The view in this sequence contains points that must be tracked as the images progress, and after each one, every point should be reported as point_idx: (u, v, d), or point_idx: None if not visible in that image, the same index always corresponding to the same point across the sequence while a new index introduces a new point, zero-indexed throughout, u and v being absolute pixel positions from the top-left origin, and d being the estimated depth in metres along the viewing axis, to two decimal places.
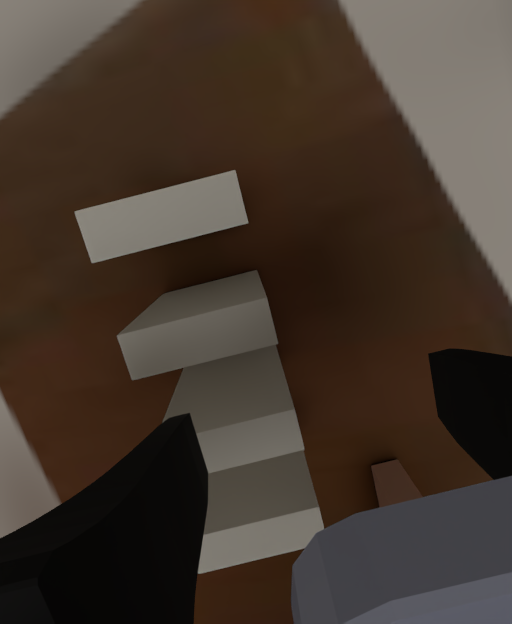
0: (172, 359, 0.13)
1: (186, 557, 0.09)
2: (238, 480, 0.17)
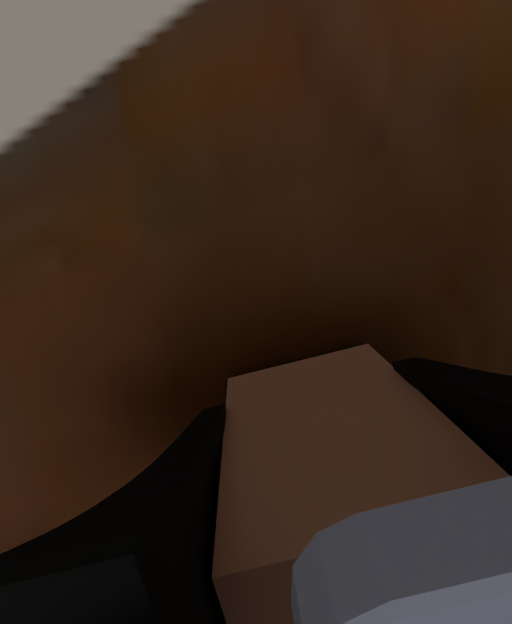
0: None
1: None
2: None
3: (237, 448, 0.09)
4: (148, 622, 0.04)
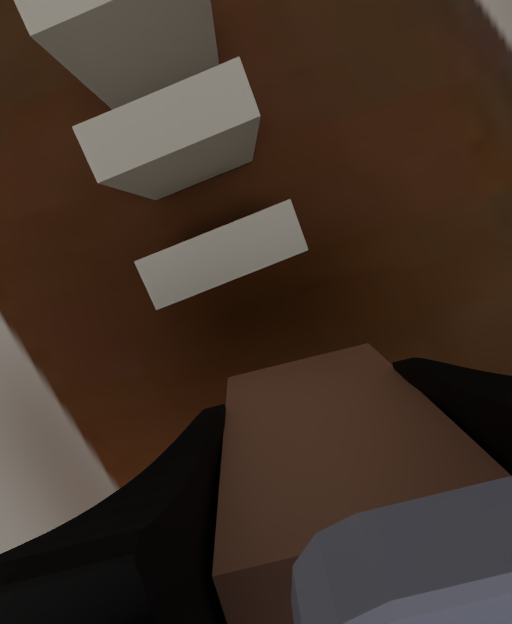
0: None
1: None
2: None
3: (237, 447, 0.09)
4: (148, 622, 0.04)
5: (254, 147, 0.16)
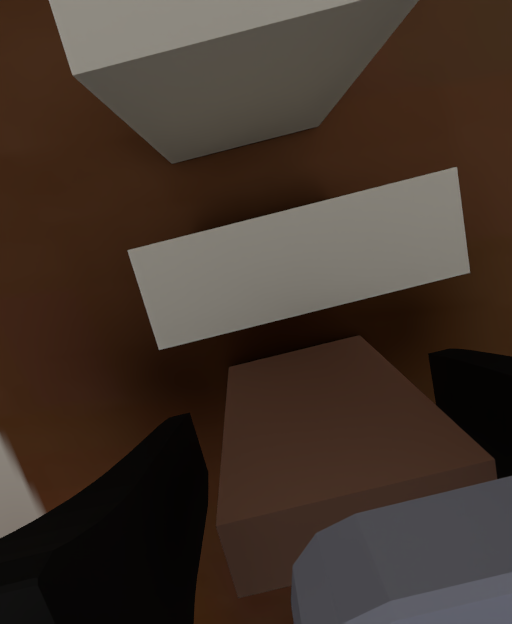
0: None
1: (186, 557, 0.09)
2: None
3: (237, 425, 0.10)
4: None
5: (344, 92, 0.10)
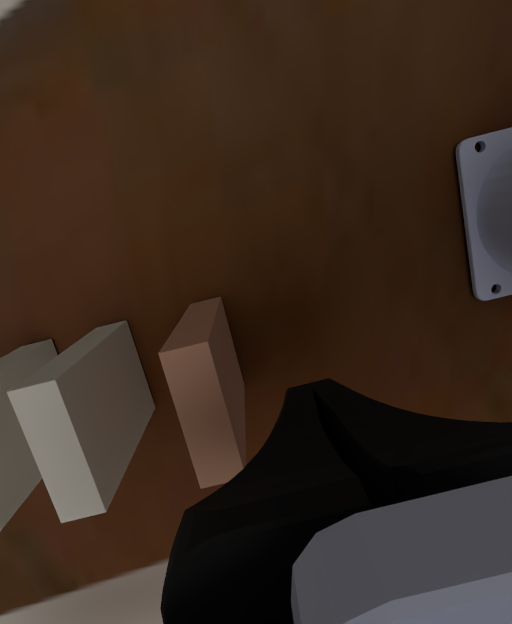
0: None
1: None
2: None
3: None
4: None
5: (14, 361, 0.17)
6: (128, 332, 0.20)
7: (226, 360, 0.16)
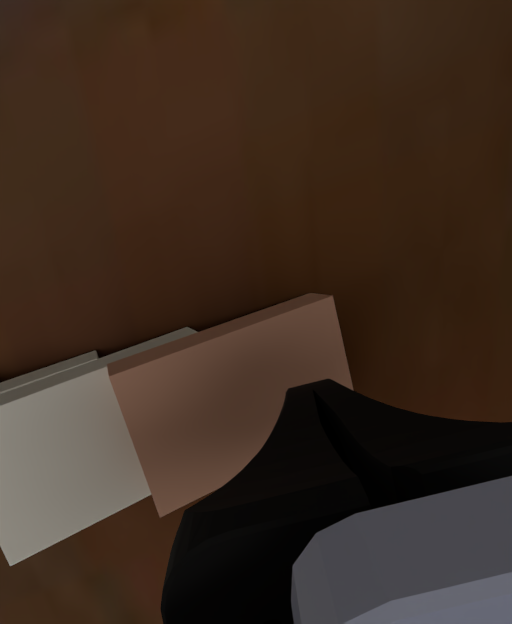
0: None
1: None
2: None
3: None
4: None
5: None
6: None
7: (228, 390, 0.13)
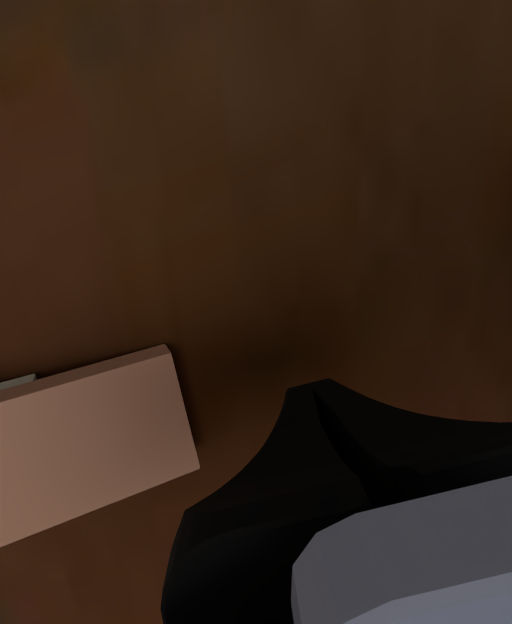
0: None
1: None
2: None
3: None
4: None
5: None
6: None
7: (52, 440, 0.14)
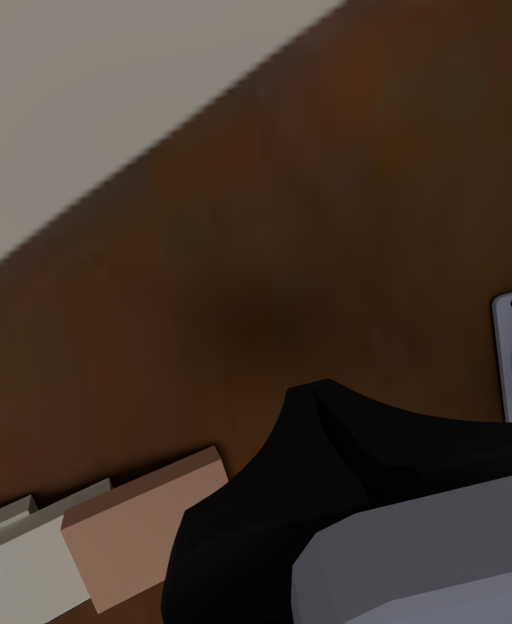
0: None
1: None
2: None
3: None
4: None
5: None
6: None
7: (143, 530, 0.20)
